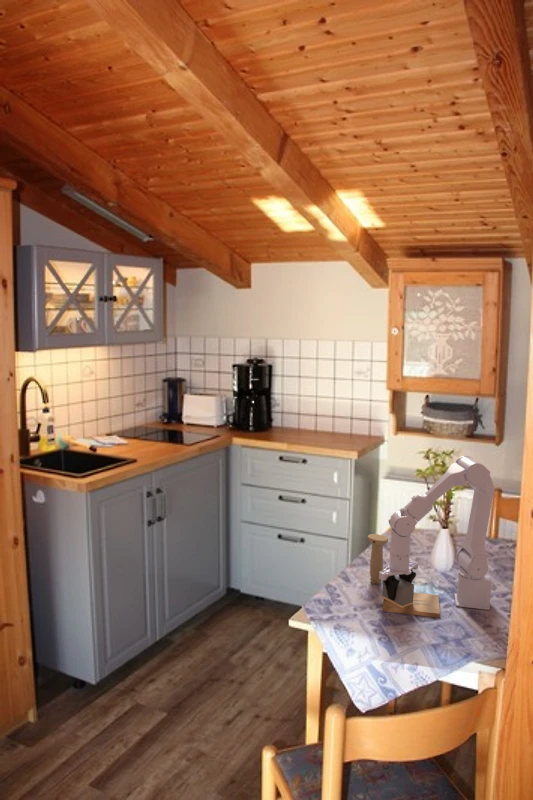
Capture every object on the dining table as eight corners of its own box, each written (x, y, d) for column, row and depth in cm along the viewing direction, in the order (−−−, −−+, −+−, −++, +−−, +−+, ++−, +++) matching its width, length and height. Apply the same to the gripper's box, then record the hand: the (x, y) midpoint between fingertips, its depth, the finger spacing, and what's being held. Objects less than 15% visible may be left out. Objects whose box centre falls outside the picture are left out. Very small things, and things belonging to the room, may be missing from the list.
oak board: (438, 598, 200) (438, 595, 200) (439, 617, 189) (439, 613, 189) (384, 592, 204) (384, 589, 203) (382, 611, 192) (382, 607, 192)
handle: (381, 587, 207) (383, 542, 205) (363, 582, 211) (365, 537, 209) (388, 582, 211) (390, 537, 209) (370, 577, 215) (372, 532, 212)
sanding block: (413, 603, 194) (414, 584, 193) (402, 608, 191) (403, 588, 190) (392, 593, 200) (393, 574, 199) (381, 597, 198) (382, 578, 197)
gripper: (392, 563, 186) (390, 608, 188) (427, 552, 194) (424, 595, 197) (374, 555, 192) (372, 599, 194) (408, 544, 200) (406, 586, 202)
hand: (397, 596), depth 196 cm, fingers closed on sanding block, 5 cm apart
